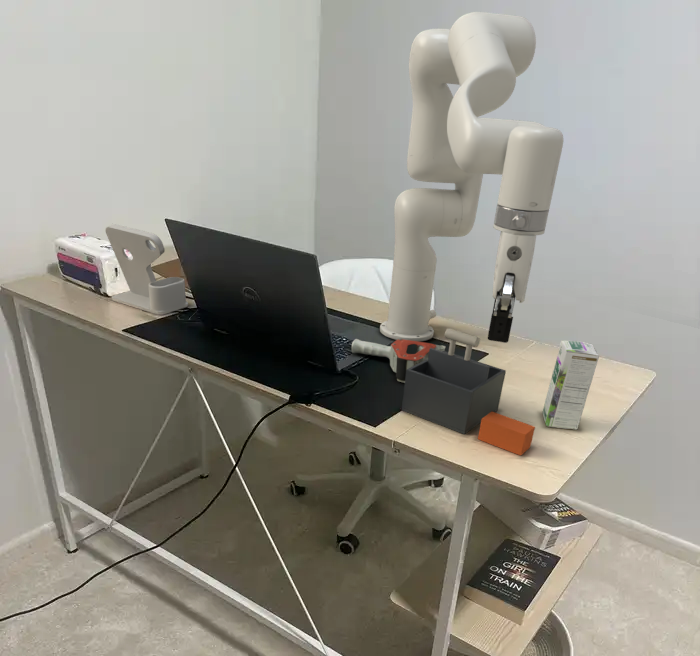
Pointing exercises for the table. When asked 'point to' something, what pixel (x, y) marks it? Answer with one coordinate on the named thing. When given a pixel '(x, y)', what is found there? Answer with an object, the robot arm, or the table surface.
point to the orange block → (506, 433)
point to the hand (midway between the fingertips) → (499, 330)
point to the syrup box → (570, 384)
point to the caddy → (453, 386)
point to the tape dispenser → (397, 353)
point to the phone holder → (144, 272)
